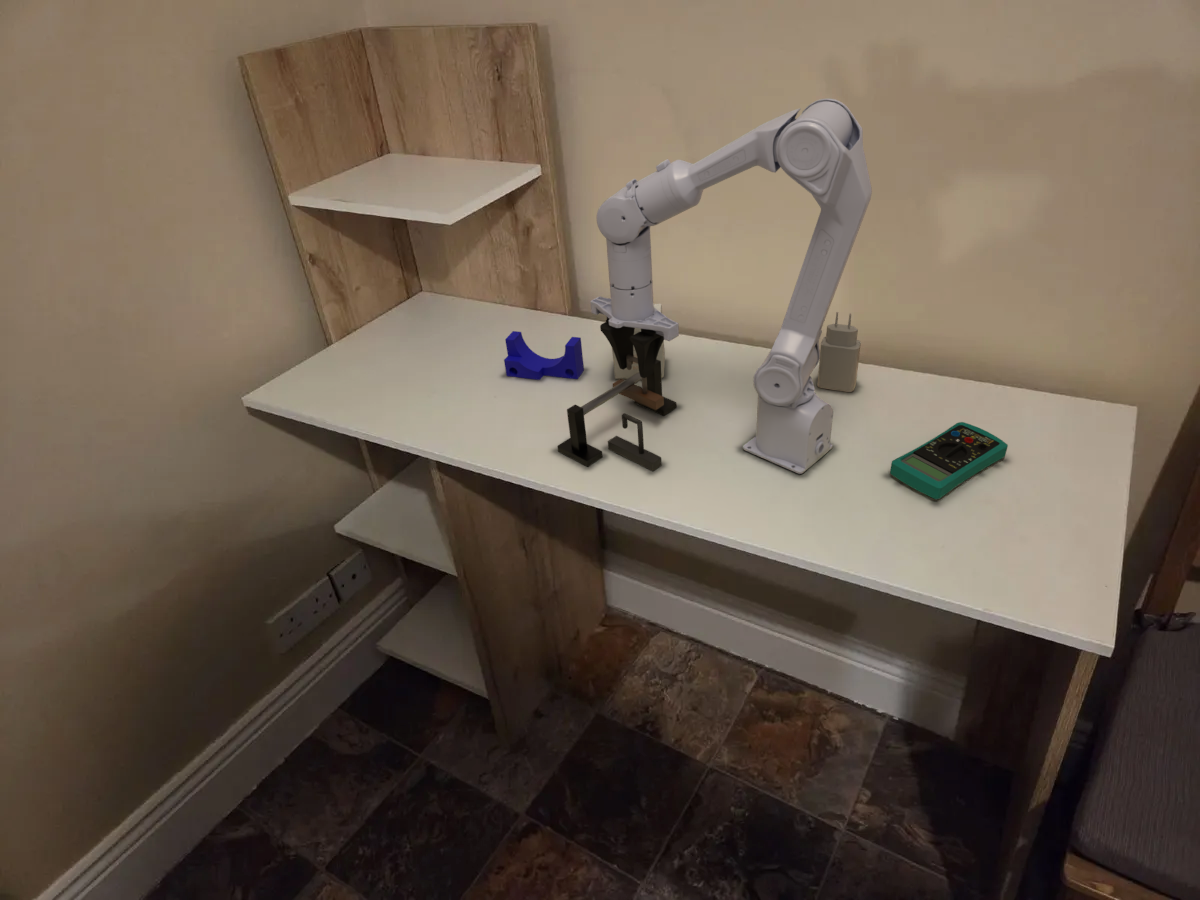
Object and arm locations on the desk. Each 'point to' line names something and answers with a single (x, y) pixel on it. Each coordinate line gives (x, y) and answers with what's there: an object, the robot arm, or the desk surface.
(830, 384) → the power adapter
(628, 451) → the black hanger
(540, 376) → the blue curved cradle bracket
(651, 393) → the walnut hanger
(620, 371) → the small box
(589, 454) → the rail stand
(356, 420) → the desk surface
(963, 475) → the digital multimeter
